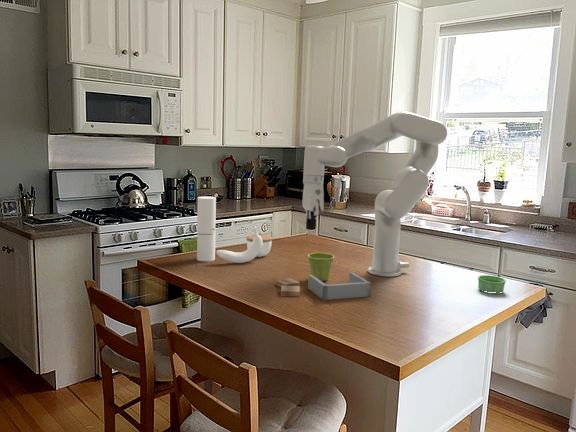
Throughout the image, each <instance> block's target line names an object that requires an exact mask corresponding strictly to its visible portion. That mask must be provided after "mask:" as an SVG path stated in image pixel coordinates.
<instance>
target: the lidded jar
mask: <svg viewBox="0 0 576 432" xmlns="http://www.w3.org/2000/svg"><path fill="white" fill-rule="evenodd" d="M257 233H258V234H259V235H260V236H261V238H262V241H263V243H262V248H261V250H260V252H259V253H258V255H257V256H256V257H258V258H261V257H262V256H263V257H266V256H267V255H268V254H269V252H270V251H271V249H272V244H273V242H272V241H273V237H272V236H271V235H266V234H261V232H257ZM253 239H254V234H251V235H250V234H249V235H247V236H246V247H247V249H248V248H249V247H250V246H251V244H252V242H253ZM256 257H255V258H256Z"/></svg>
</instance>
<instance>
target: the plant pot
mask: <svg viewBox="0 0 576 432" xmlns="http://www.w3.org/2000/svg"><path fill="white" fill-rule="evenodd" d="M307 257H308V261H309V265H310V268H309V269H310V275H313V276H314V277H316V278H317V279H319V280H320V281H322V282H324V281H326V282H327V281H328V280H329V279H330V274H331V270H332V269H331V267H332V265H333V264H332V263H333V261H334V259H335V256H334V254H331V253H327V252H313V253H309V254H307Z"/></svg>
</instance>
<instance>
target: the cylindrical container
mask: <svg viewBox="0 0 576 432" xmlns="http://www.w3.org/2000/svg"><path fill="white" fill-rule="evenodd" d="M216 208H217V197H216V196H206V195H205V196H198V197H197V210H196V211H197V212H196V213H197V215H196V217H197V224H196V226H197V228H196V229H197V230H196V231H197V234H196V235H197V236H196V237H197V238H196V239H197V240H196V241H197V242H196V260H197V261H198V262H213V261H215V260H216V221H217V220H216V218H217V217H216V216H217V215H216V214H217V213H216V212H217V211H216V210H217V209H216Z"/></svg>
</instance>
